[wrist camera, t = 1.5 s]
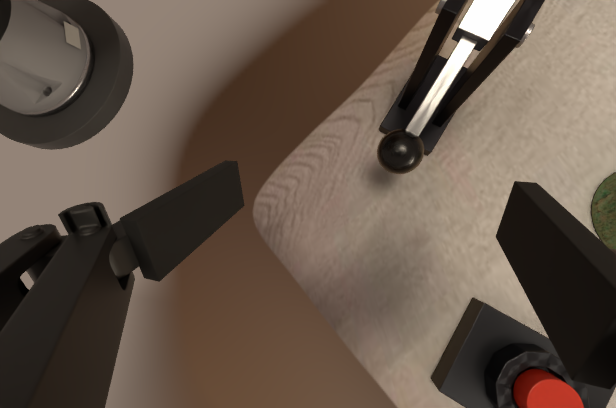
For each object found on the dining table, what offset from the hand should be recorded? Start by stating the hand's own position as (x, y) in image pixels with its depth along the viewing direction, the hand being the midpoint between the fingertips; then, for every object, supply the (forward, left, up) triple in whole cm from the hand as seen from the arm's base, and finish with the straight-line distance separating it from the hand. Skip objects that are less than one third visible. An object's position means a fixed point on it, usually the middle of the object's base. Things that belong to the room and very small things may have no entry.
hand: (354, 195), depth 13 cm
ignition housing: (+18, -12, -16) cm, 27 cm away
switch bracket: (+7, +14, -16) cm, 22 cm away
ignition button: (+18, -12, -13) cm, 25 cm away
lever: (+5, +10, -8) cm, 14 cm away
